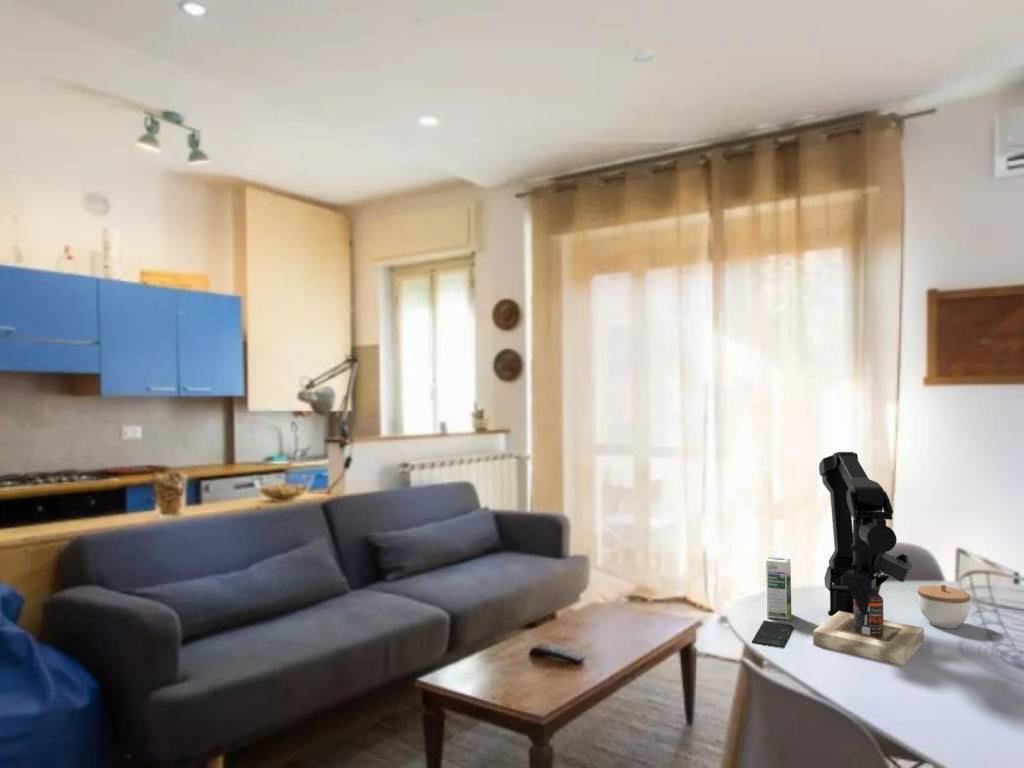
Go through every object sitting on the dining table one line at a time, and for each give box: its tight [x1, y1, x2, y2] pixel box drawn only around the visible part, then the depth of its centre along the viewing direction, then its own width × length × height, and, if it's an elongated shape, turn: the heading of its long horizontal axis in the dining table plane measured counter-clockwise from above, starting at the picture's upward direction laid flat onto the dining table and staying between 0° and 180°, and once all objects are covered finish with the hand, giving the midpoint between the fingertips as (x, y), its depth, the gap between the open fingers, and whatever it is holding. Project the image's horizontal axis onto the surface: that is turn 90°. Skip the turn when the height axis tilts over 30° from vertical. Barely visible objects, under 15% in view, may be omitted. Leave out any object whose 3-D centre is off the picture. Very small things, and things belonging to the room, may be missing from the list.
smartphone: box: [751, 620, 794, 649], centre depth 158 cm, size 7×1×15 cm
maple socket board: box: [812, 611, 925, 667], centre depth 152 cm, size 18×18×3 cm
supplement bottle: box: [854, 585, 884, 638], centre depth 153 cm, size 6×6×11 cm
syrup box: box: [765, 555, 792, 621], centre depth 171 cm, size 6×6×14 cm
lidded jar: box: [917, 584, 971, 629], centre depth 164 cm, size 11×11×9 cm
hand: (868, 611), depth 153 cm, fingers closed on supplement bottle, 6 cm apart
